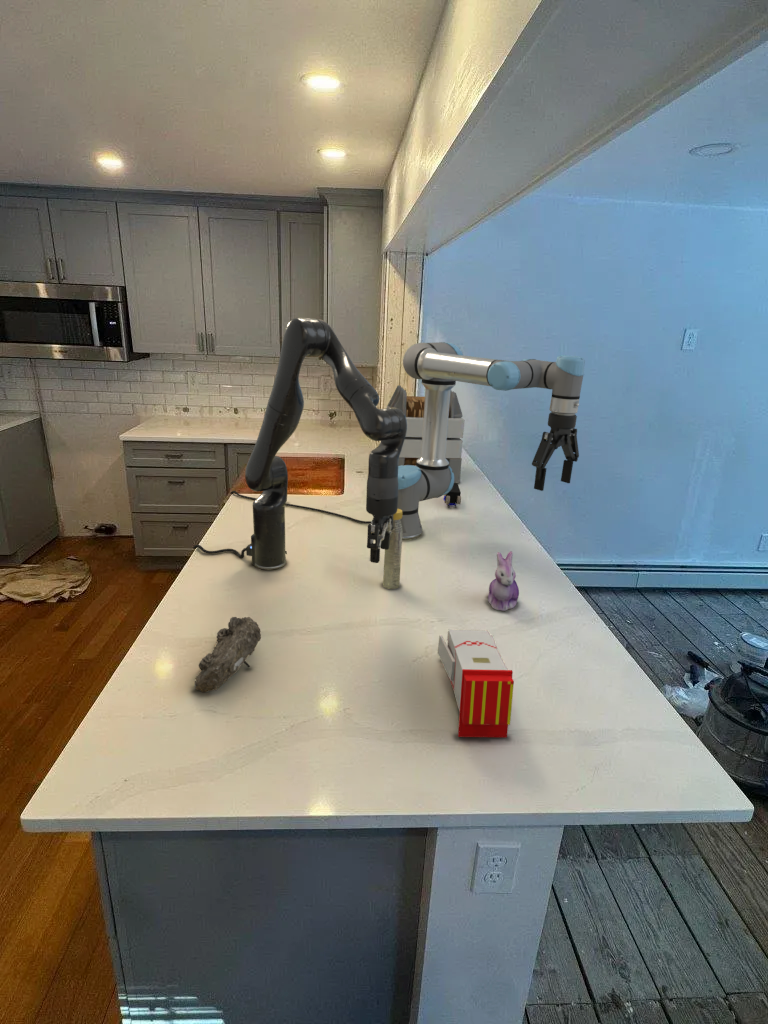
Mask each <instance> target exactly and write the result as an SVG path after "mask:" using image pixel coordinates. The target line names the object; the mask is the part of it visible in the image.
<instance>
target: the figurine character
mask: <svg viewBox="0 0 768 1024" xmlns="http://www.w3.org/2000/svg"><path fill="white" fill-rule="evenodd" d="M442 499H443V501H444V504H445V505H447V509H450V507H451V506H454V509H457V508H458V506H457V505H461V504H462V496H461V488H460V486H459V483H454V484H453V487H452V489H451V490H450V491H449V492H448V493H447V494H445V495H443V498H442Z"/></svg>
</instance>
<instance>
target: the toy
mask: <svg viewBox="0 0 768 1024" xmlns="http://www.w3.org/2000/svg"><path fill="white" fill-rule="evenodd" d="M446 640H447V643H446V641H445V639H444V636H443V635H442V634H439V637H438V646H437V656H438V657H439V659H440V661H441V663H442V666H443V668H444V670H445V672H446V674H447V677H448V679H449V681H450V684H451V687H452V690H453V693H454V697H455V701H456V705H457V708H458V711H459V714H458V715H459V716H458V730H457V731H458V732H457V737H458V738H508V731H509V726H510V725H511V717H512V707H513V697H514V696H513V695H514V684H515V680H514V679H513V673H514V671H513V670H512V669H508V667H507V665H506V662H505V661H504V659H503V658H502V655H501V653H500V651H499V649H498V647H497V643H496V639H495V637H494V635H493V634H491V632H490V631H489V629H467V628H466V629H465V628H463V629H461V628H460V629H459V628H448V630H447V639H446Z"/></svg>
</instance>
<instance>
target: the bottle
mask: <svg viewBox="0 0 768 1024" xmlns="http://www.w3.org/2000/svg"><path fill="white" fill-rule="evenodd" d="M402 532H403V529H402V524H401V521H400V519H399V520H393V530H391V535H390V543H389V549H388V550H385V549H384V554H383V555H384V557H383V558H384V559H383V580H382V586H383V587H384V588H385V589H388V590H396V589H398V588H400V584H401V583H400V582H401V581H400V580H401V564H402V549H403V540H402Z"/></svg>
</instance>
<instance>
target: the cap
mask: <svg viewBox="0 0 768 1024" xmlns="http://www.w3.org/2000/svg"><path fill="white" fill-rule="evenodd" d="M401 518H402V510H401V509H397V512H396V513H395V514H394V515H393V520H399V519H401Z"/></svg>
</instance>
